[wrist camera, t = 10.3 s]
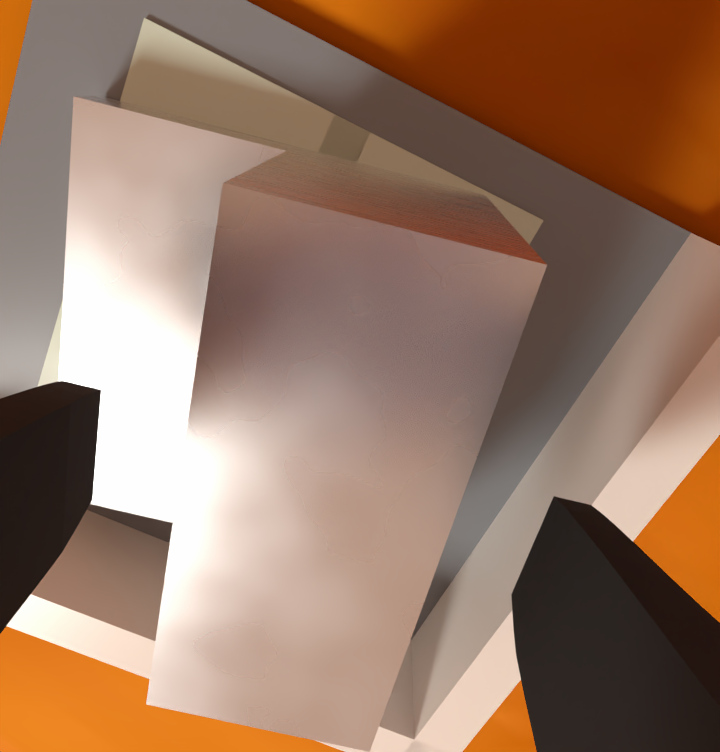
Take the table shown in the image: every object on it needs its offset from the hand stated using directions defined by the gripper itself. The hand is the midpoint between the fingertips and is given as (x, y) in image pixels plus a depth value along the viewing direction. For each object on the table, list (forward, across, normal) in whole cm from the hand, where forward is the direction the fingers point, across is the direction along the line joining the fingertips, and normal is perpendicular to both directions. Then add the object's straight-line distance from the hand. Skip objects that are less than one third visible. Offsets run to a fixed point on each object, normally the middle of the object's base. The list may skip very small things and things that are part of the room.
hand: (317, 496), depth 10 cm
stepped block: (+5, +2, 0) cm, 6 cm away
